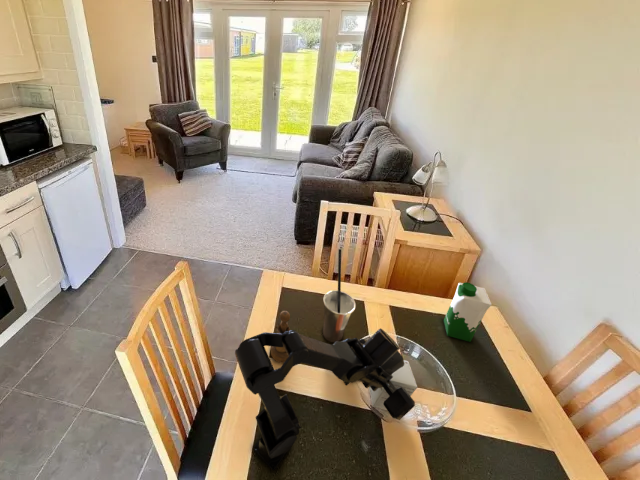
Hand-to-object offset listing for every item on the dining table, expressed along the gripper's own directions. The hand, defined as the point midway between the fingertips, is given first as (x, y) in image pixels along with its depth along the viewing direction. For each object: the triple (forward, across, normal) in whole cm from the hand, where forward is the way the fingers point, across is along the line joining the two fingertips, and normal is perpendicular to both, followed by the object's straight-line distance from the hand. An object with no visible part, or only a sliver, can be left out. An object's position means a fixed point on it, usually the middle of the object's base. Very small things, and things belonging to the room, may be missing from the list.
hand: (392, 381), depth 86 cm
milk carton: (+34, +10, -22) cm, 41 cm away
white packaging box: (+4, 0, +6) cm, 7 cm away
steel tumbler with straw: (+3, +24, +7) cm, 25 cm away
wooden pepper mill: (-11, +23, +21) cm, 33 cm away
